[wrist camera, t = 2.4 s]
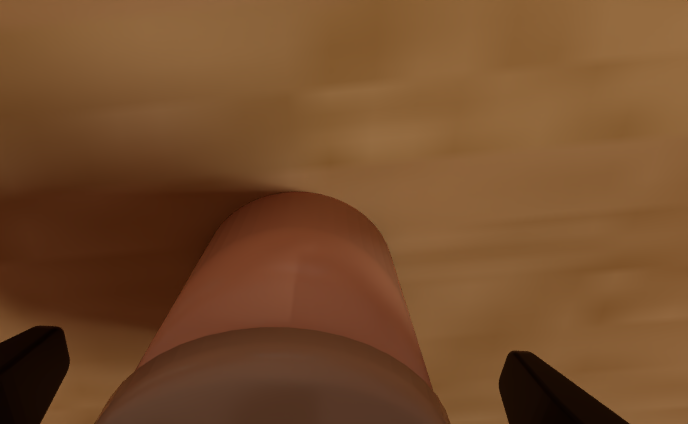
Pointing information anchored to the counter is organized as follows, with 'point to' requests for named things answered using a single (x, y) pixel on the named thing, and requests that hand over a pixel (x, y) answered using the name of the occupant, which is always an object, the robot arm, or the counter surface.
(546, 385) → the robot arm
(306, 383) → the spice jar
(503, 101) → the counter surface
